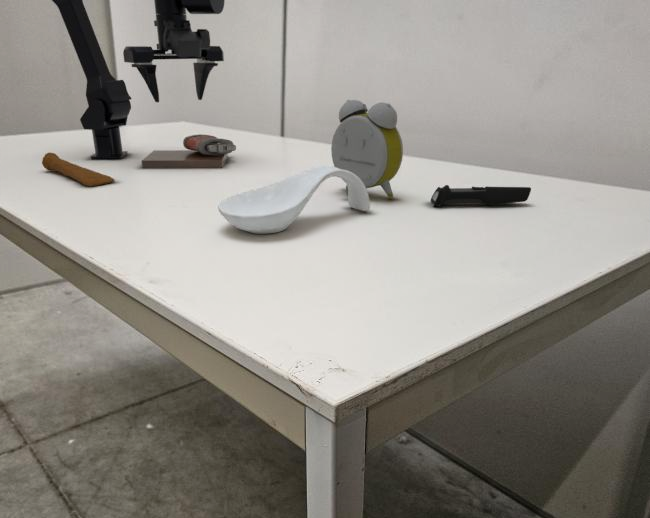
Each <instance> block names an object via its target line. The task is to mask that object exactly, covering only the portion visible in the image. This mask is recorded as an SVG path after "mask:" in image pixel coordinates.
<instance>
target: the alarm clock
mask: <svg viewBox="0 0 650 518" xmlns="http://www.w3.org/2000/svg"><path fill="white" fill-rule="evenodd" d="M338 121H339V122H340V123H339V125H337V128H335V131H334V134H333V136H332V140H331V148H330V150H331V159H332V163H333V167H336V168H339V169H342V170H347V171H349V172H352V173H353V174H355V175H356V176H358V177H359V178H360V180H361V181H362V182H363V184H364V186H365V188H366V190H367V189H372V188H374V187H379V186H380V187H381V188H382V190H383V191H384V193H385V194H386V195H387V197H388V198H389V200H391V199H393V198H394V193H393V190H392V186H391V182H390V181H392V180H393V178H395V177H396V175H397V174H398V172H399V170H400V168H401V166H402V163H403V155H404V145H403V140H402V137H401V134H400V131H399V130H398V128H397V123H398V113H397V110H396V109H395V108H394V107H393V106H392V105H391V104H390V103H387V102H383V101H381V102H376V103H375V104H373V105H372V106H371V107H370V108H369V109H368V107H367V105H366V103H364V102H362V101H361V100H357V99H347V100H346V102H344V104H343V105H342V106H341V107H340V109H339V112H338ZM341 180H342V181H343V182H344V183H345V184H346V182H345V181H344V180H343V179H342V178H341ZM345 189H346V190H347V191H348V187H347V184H346V185H345Z"/></svg>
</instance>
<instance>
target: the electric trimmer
mask: <svg viewBox="0 0 650 518" xmlns="http://www.w3.org/2000/svg"><path fill="white" fill-rule="evenodd" d="M531 191H532V187H530V186H527V187H526V186H485V187H484V186H471V187H465V188H463V187H462V188H461V187H457V188H456V187H455V188H454V187H453V188H452V187H451V188H450V186H449V185H448V184H445V185H443V186H442V187H440V186H438V187H437V188H436V189H435V190H434V192H433V194H432V195H431V199H430V204H431V205H432V207H434V206H436V207H437V208H440V207H442V206H443V205H462V204H465V205H466V204H483V205H486V206H495V205H503V204H505V205H506V204H513V203H524V202H526V201H527V200H529V197H530V194H531Z"/></svg>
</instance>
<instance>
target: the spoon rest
mask: <svg viewBox="0 0 650 518" xmlns="http://www.w3.org/2000/svg"><path fill="white" fill-rule="evenodd" d="M332 177H334V178H340V179H341V180H342V179H343V180H344V181H345V182H346V183H345V182H344V181H343V180H342V181H343V182H344V183H345V184H346V185H347V187H348V190H347V191H348V192H347V196H348V197H347V198H348V199H347V201H348V202H347V203H348V206H349V207H351V208H353V209H356V210H359V211H362V212H369V211H370V210H371V201H370V197H369V196H370V195H369V192H368V190H367V189H366V188H365V186H364V184H363V182H362V181H361V180H360V178H359V177H358V176H356V175H355V174H353V173H352V172H349V171H347V170H342V169H339V168H336V167H334V166H332V165H319V166H315V167H314V166H313V167H311V168H308V169H306V170H303V171H301V172H300V171H299V172H298V173H295V174H293V175H291V176H288V177H286V178H283V179H280V180H278V181H275V182H272V183H270V184H266V185H263V186H260V187H257V188H255V189H250V190H246V191H243V192H240V193H236V194H233V195H231V196H228V197H226V198H223V200H221V201H220V202H219V204H218V205H217V210H218V212H219V214H220V215H221V216H222V217H223V218H224V219H225V220H226V222H228V223H229V224H230V225H232V226H233V227H235V228H237V229H238V230H242V231H245V232H248V233H251V234H255V235H257V234H258V235H259V234H261V235H262V234H263V235H267V234H276V233H279V232H283V231H285V230H286V229H288V227H289V226H290V225H291V224H292V223H293V222H295V220H296V219H298V217H299V216H300V215H301V213H302V211H303V210H304V208H305V207H306V206H307V204H308V203H309V201H310V200H311V198H312V197H313V195H314V193H315V192H316V191H317V189H318V188H319V187H320V186H321V184H322V183H324V182H325V181H326V180H328V179H331V178H332Z"/></svg>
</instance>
